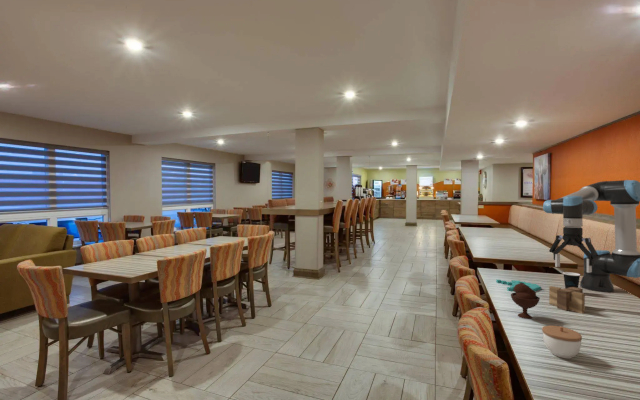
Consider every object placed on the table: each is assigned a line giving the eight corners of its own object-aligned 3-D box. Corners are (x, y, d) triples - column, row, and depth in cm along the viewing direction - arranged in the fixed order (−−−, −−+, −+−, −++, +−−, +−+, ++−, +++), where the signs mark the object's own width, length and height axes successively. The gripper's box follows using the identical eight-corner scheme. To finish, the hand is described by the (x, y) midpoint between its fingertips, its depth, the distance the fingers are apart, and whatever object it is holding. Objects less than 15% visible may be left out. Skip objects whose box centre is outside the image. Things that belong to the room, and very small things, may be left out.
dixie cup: (574, 291, 180) (574, 272, 180) (583, 295, 172) (583, 275, 172) (559, 290, 182) (559, 271, 182) (567, 294, 174) (567, 274, 174)
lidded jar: (534, 347, 111) (534, 321, 111) (562, 346, 112) (562, 320, 112) (560, 362, 100) (560, 334, 100) (590, 361, 101) (590, 333, 101)
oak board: (552, 303, 158) (552, 286, 158) (584, 312, 145) (584, 293, 145) (549, 304, 157) (549, 286, 157) (581, 313, 144) (581, 294, 144)
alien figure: (508, 291, 180) (547, 294, 176) (508, 288, 180) (547, 290, 176) (496, 282, 199) (530, 284, 195) (496, 279, 199) (530, 281, 195)
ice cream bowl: (531, 323, 132) (531, 288, 132) (505, 314, 142) (505, 282, 142) (544, 318, 137) (545, 285, 137) (519, 310, 147) (519, 279, 147)
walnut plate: (573, 304, 157) (573, 286, 157) (582, 306, 153) (582, 288, 153) (557, 308, 151) (557, 289, 151) (566, 310, 147) (566, 292, 147)
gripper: (541, 225, 163) (541, 265, 163) (599, 229, 140) (599, 275, 140) (550, 224, 166) (550, 263, 166) (608, 228, 143) (608, 274, 143)
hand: (572, 269), depth 153 cm, fingers open, 13 cm apart
